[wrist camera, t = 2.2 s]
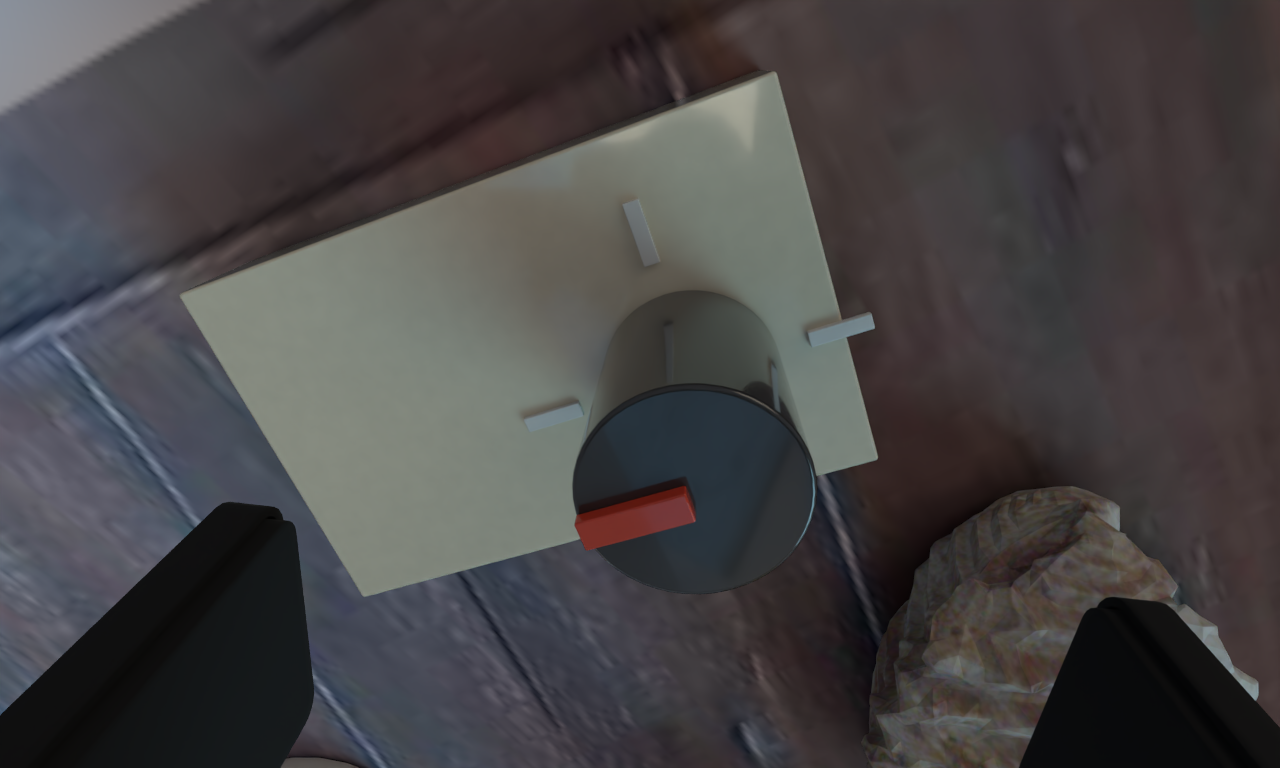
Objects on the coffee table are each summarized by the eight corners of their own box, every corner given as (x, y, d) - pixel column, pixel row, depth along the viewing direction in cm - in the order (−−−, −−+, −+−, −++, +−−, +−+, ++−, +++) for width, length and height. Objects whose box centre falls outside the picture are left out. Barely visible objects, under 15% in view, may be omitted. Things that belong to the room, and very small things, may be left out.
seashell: (1263, 889, 23) (1279, 1280, 15) (945, 790, 29) (842, 1036, 21) (1249, 441, 20) (1261, 649, 12) (898, 434, 26) (759, 572, 18)
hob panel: (788, 58, 17) (807, 58, 14) (880, 419, 20) (912, 478, 17) (248, 262, 20) (172, 297, 17) (410, 549, 23) (370, 619, 20)
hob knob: (752, 264, 16) (782, 360, 11) (801, 425, 17) (848, 576, 12) (577, 321, 16) (529, 435, 11) (638, 470, 18) (619, 630, 13)
